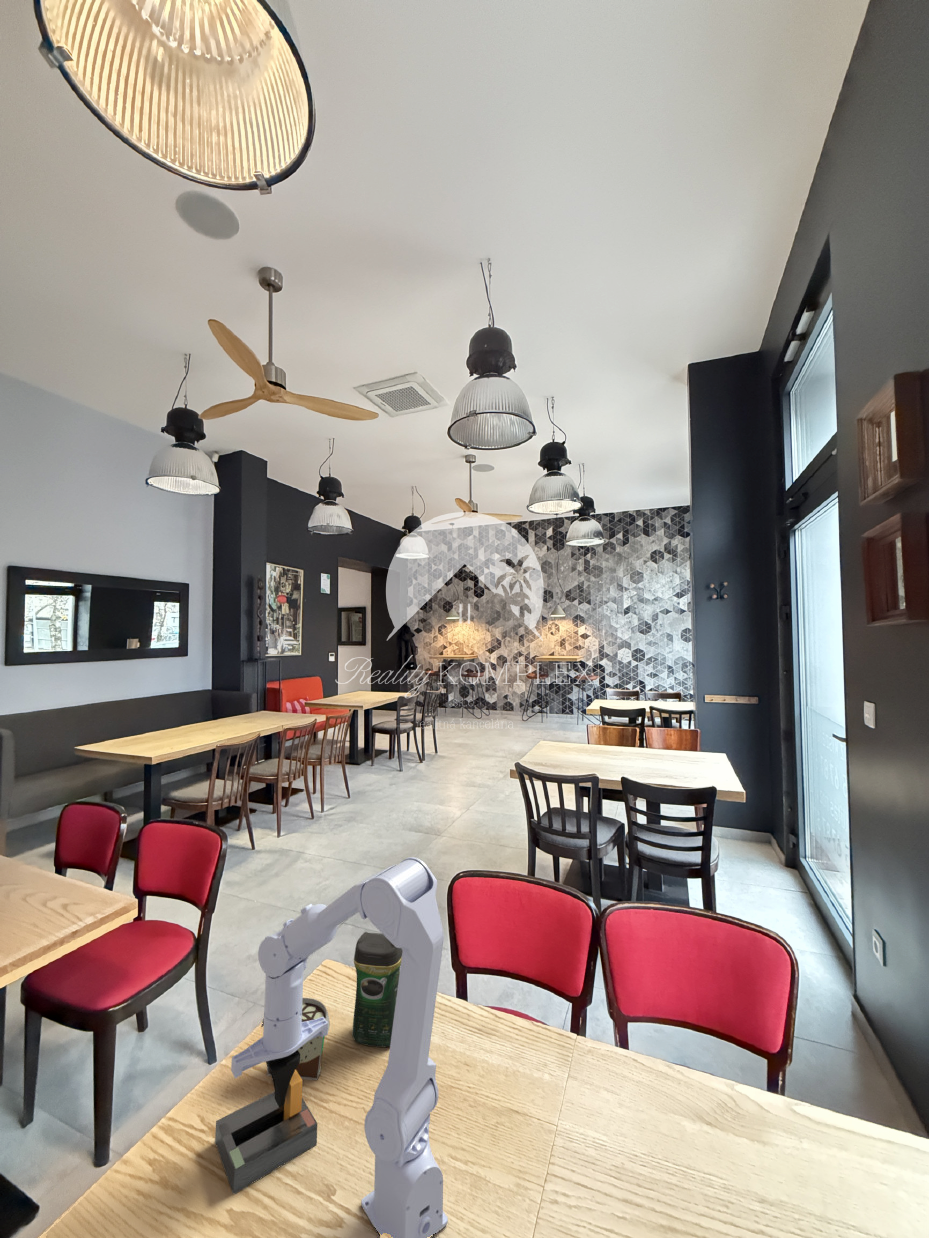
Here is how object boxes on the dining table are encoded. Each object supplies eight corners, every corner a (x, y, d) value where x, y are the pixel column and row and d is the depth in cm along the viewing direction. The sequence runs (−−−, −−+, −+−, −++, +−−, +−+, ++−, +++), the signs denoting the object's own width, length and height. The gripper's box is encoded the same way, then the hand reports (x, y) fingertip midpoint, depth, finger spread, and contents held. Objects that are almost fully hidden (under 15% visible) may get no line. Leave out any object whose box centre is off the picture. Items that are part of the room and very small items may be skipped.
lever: (300, 1129, 80) (302, 1080, 81) (289, 1136, 79) (291, 1086, 80) (292, 1114, 83) (293, 1066, 84) (281, 1120, 82) (282, 1071, 83)
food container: (338, 1054, 97) (339, 998, 98) (326, 1080, 91) (328, 1020, 91) (275, 1049, 98) (277, 993, 99) (259, 1074, 92) (261, 1014, 93)
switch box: (316, 1144, 79) (317, 1123, 79) (233, 1194, 71) (234, 1170, 71) (292, 1100, 86) (293, 1081, 87) (214, 1142, 79) (216, 1120, 79)
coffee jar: (406, 1023, 105) (408, 928, 107) (394, 1052, 97) (397, 949, 99) (361, 1017, 107) (363, 923, 108) (346, 1045, 99) (349, 943, 101)
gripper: (316, 979, 89) (313, 1063, 88) (227, 1014, 80) (222, 1109, 79) (334, 1000, 84) (331, 1090, 82) (241, 1040, 75) (236, 1142, 73)
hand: (279, 1101), depth 80 cm, fingers closed
